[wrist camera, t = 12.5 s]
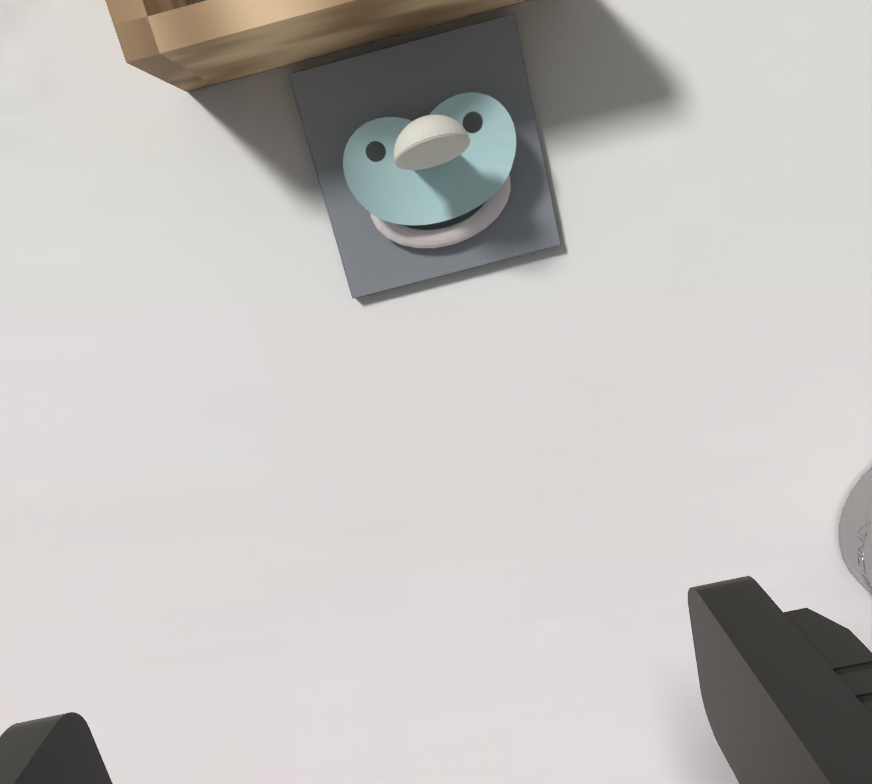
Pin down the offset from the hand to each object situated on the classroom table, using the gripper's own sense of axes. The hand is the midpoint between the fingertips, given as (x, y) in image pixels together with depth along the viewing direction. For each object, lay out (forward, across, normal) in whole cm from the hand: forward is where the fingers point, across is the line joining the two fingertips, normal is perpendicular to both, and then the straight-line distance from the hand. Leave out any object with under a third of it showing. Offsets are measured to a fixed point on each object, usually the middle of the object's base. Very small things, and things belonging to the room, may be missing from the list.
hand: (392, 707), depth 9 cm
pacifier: (+26, -2, -7) cm, 27 cm away
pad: (+26, -2, -8) cm, 28 cm away
